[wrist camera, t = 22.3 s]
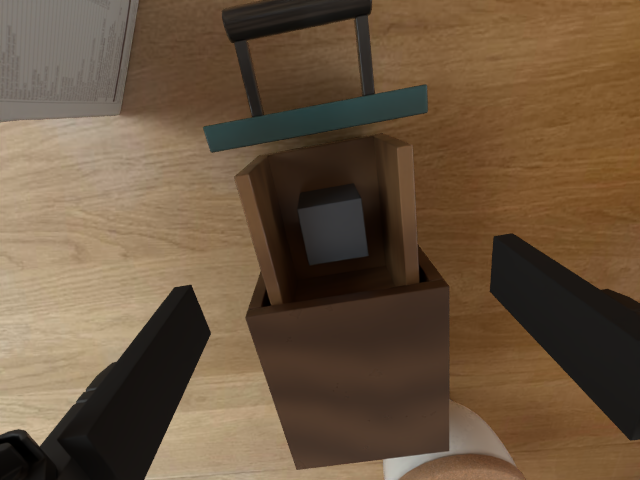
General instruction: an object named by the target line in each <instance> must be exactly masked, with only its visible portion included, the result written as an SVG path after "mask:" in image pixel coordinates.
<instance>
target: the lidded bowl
mask: <svg viewBox="0 0 640 480" xmlns="http://www.w3.org/2000/svg"><path fill="white" fill-rule="evenodd" d="M383 471H384V480H526V479H525V477H524V475H523V474H522V472H521V471H520V470H519V469H518V468H517V466H516V464H515V463H514V461H513V459H512V457H511V456H510V454H509V452H508V451H507V449H506V447H505V446H504V444H503V443H502V442H501V440H500V439H499V437H498V436H497V435H496V433H495V432H494V431H493V430H492V429H491V428H490V426H489V425H488V424H487V423H486V422H485V421H484V420H483V419H482V418H481V417H480V416H479V415H477V414H476V413H475V412H473V411H472V410H470V409H469V408H467V407H465V406H463V405H461V404H459V403H457V402H454V401H452V400H450V399H449V451H447V452H439V453H431V454H422V455H414V456H406V457H398V458H390V459H383Z"/></svg>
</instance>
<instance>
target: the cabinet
mask: <svg viewBox="0 0 640 480" xmlns="http://www.w3.org/2000/svg"><path fill="white" fill-rule="evenodd" d="M418 264H419V283H416V284H409V285H403V286H396V287H390V288H383V289H377V290H370V291H364V292H357V293H351V294H344V295H338V296H331V297H325V298H318V299H312V300H305V301H299V302H292V303H286V304H279V305H273V306H271V303H270V300H269V297H268V293H267V290H266V286H265V283H264V279H263V276H262V272H260V275H259V278H258V281H257V284H256V287H255V290H254V293H253V296H252V299H251V302H250V305H249V308H248V311H247V314H246V317H245V318H246V321H247V324H248V327H249V330H250V333H251V336H252V339H253V342H254V345H255V348H256V351H257V353H258V356H259V359H260V362H261V365H262V368H263V371H264V374H265V377H266V380H267V383H268V386H269V389H270V392H271V395H272V398H273V401H274V404H275V407H276V410H277V413H278V416H279V419H280V422H281V425H282V428H283V431H284V434H285V437H286V440H287V443H288V446H289V448H290V451H291V454H292V457H293V460H294V463H295V466H296V469H297V470H300V469H308V468H316V467H324V466H332V465H341V464H349V463H357V462H365V461H373V460H382V459H390V458H398V457H406V456H414V455H422V454H431V453H439V452H447V451H449V285H448V284H447V283H446V281H445V280H444V279H443V277H442V276H441V275H440V273H439V272H438V271H437V269H436V268H435V267H434V265H433V264H432V263H431V261H430V260H429V259H428V257H427V256H426V255H425V253H424V252H423V251H422V250H421V248H420V247H419V246H418Z"/></svg>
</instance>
